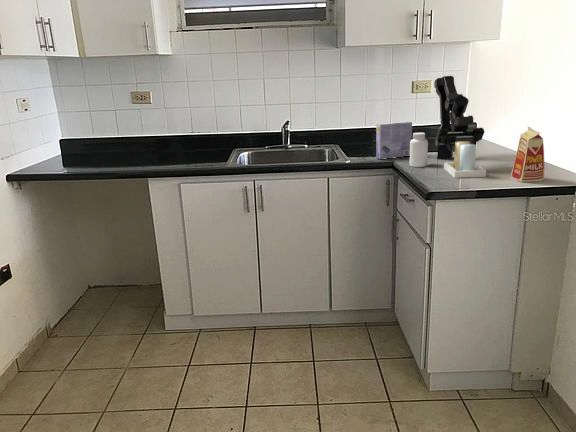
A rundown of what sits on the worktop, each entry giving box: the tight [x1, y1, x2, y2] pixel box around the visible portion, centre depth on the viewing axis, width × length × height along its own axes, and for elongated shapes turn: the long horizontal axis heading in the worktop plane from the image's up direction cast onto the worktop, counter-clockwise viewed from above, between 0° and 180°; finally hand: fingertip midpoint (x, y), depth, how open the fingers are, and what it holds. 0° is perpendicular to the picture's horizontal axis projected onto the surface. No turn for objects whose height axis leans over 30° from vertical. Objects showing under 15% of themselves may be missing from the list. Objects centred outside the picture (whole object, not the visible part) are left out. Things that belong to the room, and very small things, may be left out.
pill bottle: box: [409, 132, 429, 168], centre depth 226 cm, size 8×8×15 cm
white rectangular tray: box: [443, 161, 487, 179], centre depth 207 cm, size 20×12×3 cm, turn 175°
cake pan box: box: [375, 121, 413, 160], centre depth 250 cm, size 19×5×18 cm, turn 108°
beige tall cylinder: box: [453, 140, 471, 169], centre depth 209 cm, size 6×6×12 cm
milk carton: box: [510, 126, 545, 183], centre depth 187 cm, size 9×9×20 cm
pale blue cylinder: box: [459, 143, 477, 171], centre depth 201 cm, size 6×6×12 cm
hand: (462, 150), depth 207 cm, fingers open, 9 cm apart
